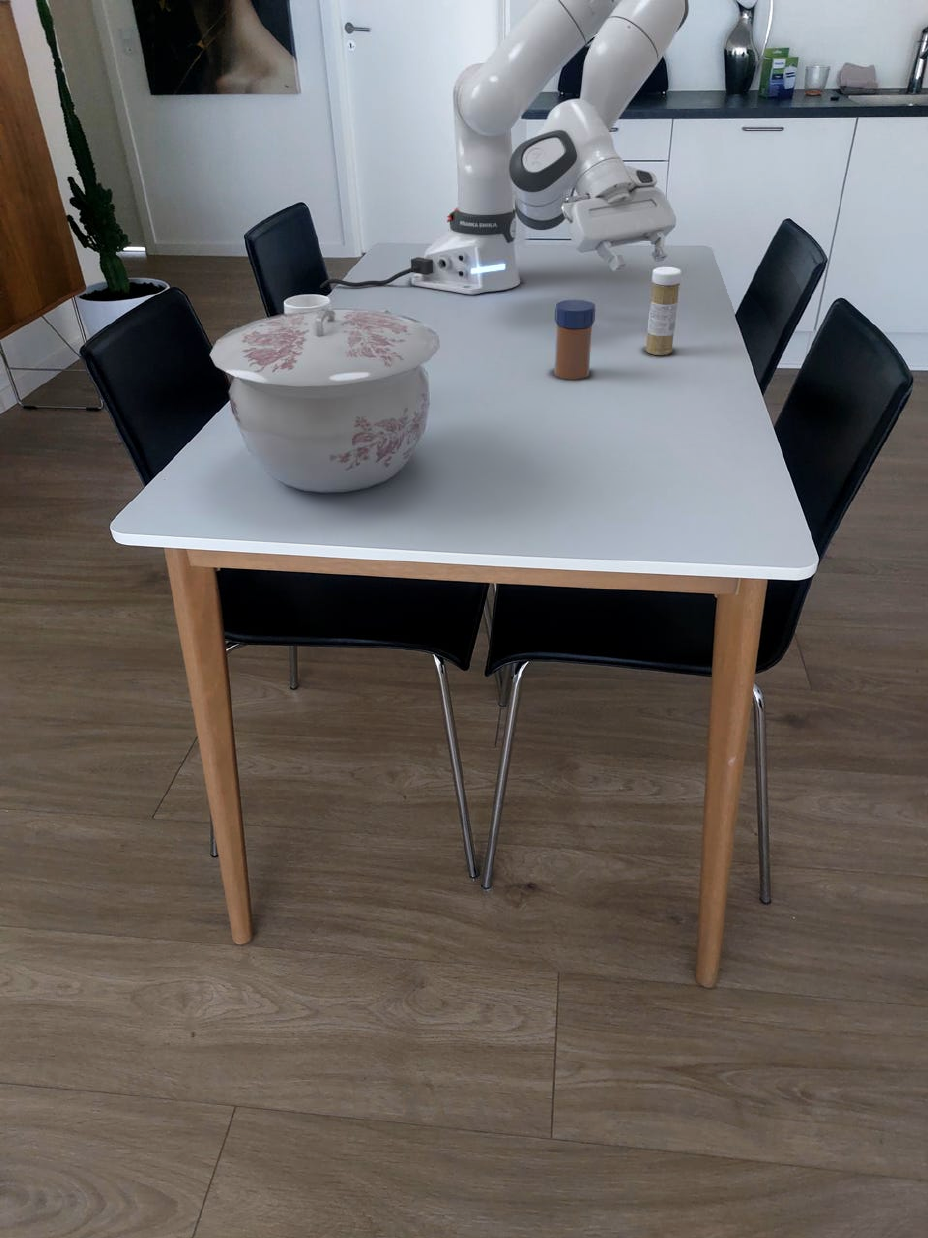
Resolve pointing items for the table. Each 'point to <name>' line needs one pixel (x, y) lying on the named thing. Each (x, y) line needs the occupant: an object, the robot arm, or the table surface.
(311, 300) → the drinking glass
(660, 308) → the sprinkles bottle
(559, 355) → the brown cylinder
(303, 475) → the chamber pot
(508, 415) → the table surface
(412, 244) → the table surface
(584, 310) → the lid
